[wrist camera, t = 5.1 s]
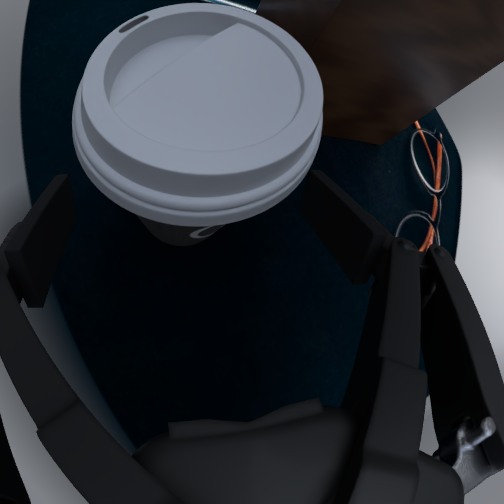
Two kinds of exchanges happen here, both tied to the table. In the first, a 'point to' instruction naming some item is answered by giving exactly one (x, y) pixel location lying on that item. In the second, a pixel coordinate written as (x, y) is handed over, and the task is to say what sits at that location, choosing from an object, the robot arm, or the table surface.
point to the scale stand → (390, 56)
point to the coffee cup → (197, 118)
